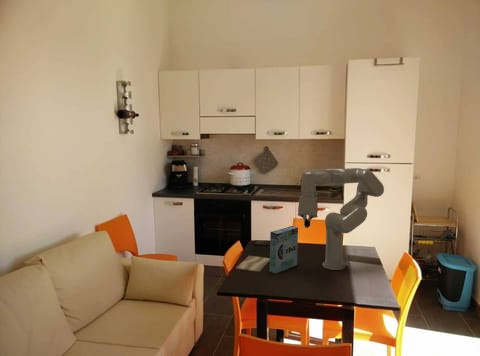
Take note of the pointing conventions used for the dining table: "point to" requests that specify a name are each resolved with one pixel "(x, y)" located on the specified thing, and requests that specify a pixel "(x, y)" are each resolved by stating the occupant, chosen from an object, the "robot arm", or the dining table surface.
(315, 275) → the dining table surface
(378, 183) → the robot arm
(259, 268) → the board
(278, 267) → the gum box
